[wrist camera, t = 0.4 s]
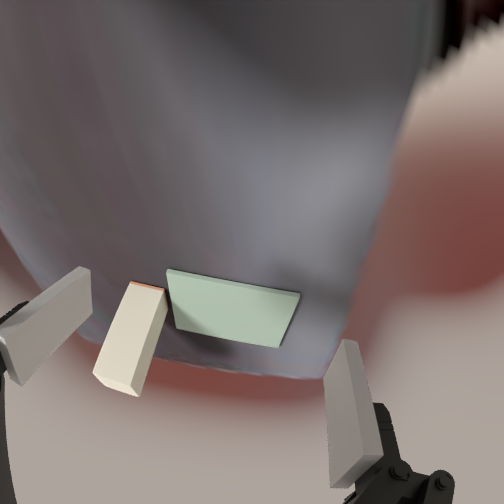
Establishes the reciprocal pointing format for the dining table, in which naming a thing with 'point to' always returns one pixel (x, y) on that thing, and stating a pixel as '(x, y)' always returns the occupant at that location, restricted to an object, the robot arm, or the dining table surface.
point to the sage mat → (230, 308)
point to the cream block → (132, 339)
